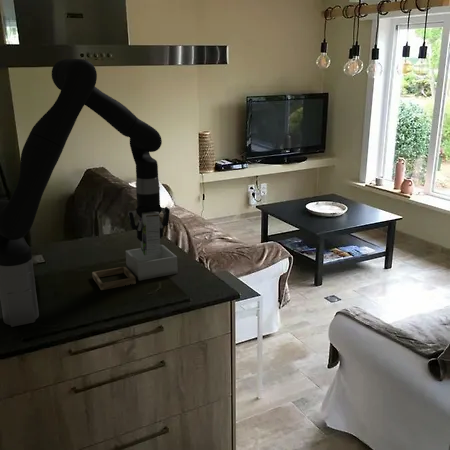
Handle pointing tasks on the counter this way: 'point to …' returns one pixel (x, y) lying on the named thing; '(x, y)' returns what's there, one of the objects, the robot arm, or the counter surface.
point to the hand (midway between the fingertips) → (150, 239)
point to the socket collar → (113, 284)
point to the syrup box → (150, 233)
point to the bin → (151, 263)
